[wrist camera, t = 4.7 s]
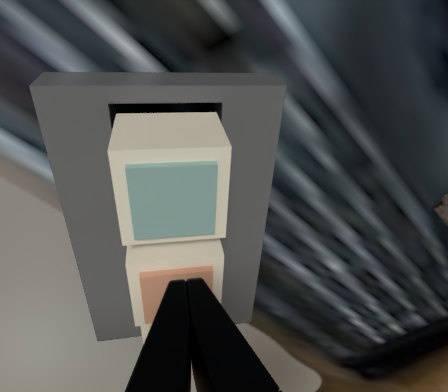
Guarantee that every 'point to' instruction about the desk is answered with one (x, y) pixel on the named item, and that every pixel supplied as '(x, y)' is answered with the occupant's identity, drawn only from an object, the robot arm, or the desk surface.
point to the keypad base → (103, 187)
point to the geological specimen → (443, 209)
